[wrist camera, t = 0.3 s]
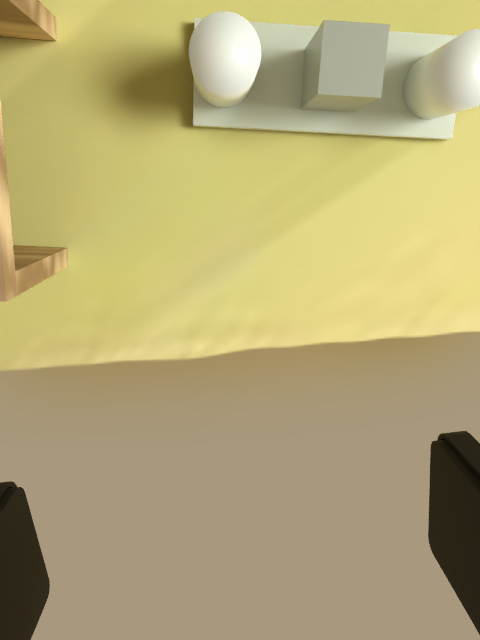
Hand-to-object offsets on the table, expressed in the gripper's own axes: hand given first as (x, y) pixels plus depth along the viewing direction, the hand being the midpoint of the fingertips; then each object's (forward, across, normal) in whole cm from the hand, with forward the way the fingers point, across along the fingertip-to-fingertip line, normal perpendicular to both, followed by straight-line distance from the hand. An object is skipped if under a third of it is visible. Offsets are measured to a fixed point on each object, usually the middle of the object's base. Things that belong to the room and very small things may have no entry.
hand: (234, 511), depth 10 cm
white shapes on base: (+30, -9, -14) cm, 34 cm away
